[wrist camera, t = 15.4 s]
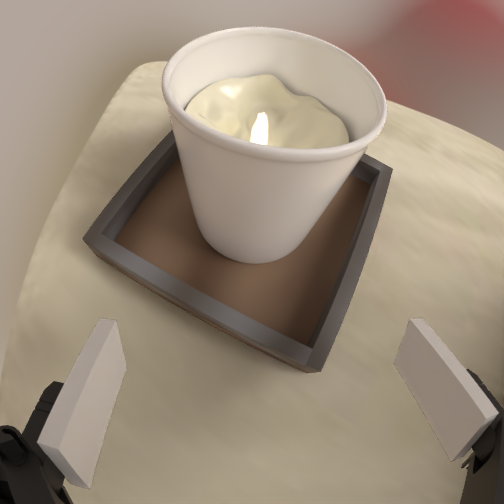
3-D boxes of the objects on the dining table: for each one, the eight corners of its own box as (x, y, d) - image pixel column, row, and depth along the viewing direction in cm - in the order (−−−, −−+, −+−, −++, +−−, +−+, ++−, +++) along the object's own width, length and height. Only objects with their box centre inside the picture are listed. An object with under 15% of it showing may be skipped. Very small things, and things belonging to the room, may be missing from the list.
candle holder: (224, 143, 25) (231, 13, 14) (334, 191, 24) (397, 70, 13) (159, 237, 21) (111, 102, 10) (289, 300, 20) (365, 201, 9)
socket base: (378, 188, 26) (392, 168, 23) (306, 373, 19) (320, 371, 16) (213, 113, 28) (213, 89, 25) (97, 256, 21) (82, 238, 18)
